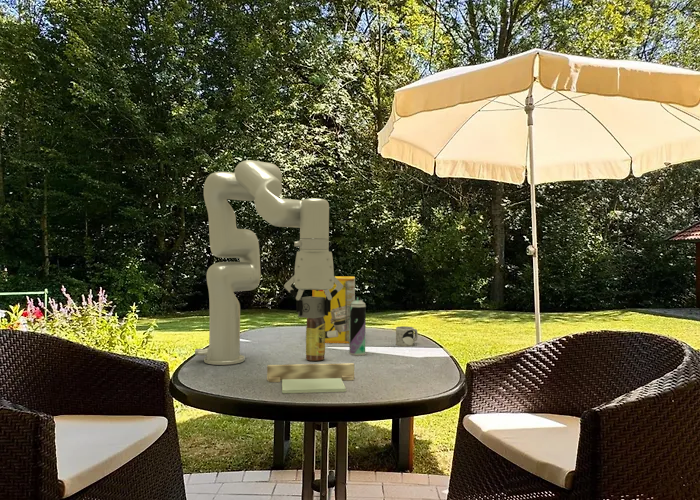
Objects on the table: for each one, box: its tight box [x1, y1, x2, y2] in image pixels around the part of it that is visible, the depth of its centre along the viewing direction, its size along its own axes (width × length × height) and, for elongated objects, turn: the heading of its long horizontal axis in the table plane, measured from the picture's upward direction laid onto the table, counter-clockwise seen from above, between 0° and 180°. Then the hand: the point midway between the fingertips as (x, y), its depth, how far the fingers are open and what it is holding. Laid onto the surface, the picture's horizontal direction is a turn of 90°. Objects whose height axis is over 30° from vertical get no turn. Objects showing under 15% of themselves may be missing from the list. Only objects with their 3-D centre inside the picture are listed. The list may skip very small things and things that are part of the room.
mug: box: [395, 326, 419, 348], centre depth 204 cm, size 10×7×7 cm
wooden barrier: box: [266, 362, 355, 383], centre depth 148 cm, size 24×5×4 cm, turn 98°
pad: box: [281, 378, 347, 394], centre depth 140 cm, size 16×11×1 cm
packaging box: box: [311, 275, 356, 344], centre depth 213 cm, size 16×16×25 cm
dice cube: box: [297, 295, 325, 319], centre depth 139 cm, size 5×5×5 cm
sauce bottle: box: [305, 317, 326, 362], centre depth 174 cm, size 7×6×20 cm
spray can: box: [348, 295, 367, 357], centre depth 184 cm, size 6×6×20 cm
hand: (313, 314), depth 140 cm, fingers closed on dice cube, 6 cm apart
